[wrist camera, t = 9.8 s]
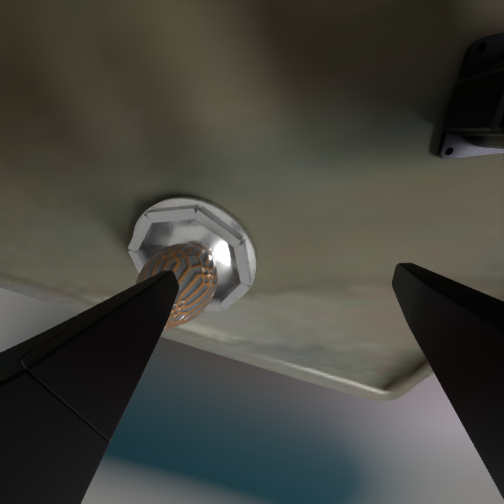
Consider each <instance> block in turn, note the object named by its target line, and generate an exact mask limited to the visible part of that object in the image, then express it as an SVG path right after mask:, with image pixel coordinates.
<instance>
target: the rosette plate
mask: <svg viewBox="0 0 504 504" xmlns="http://www.w3.org/2000/svg"><path fill="white" fill-rule="evenodd" d="M180 243H187V244H192V245H196V246H198V247H200V248H202V249H204V250H205V251H206V252H207V253H208V254H209V255H210V256H211V257H212V259H213V260H214V262H215V264H216V267H217V272H218V282H217V287H216V291H215V293H214V296H213V298H212V300H211V302H210V303H209V305H208V306H207V307H206V308H205V310H204V311H223V309H225V310H226V309H227V308H228V307H229V306H230V305H231V304H232V303H233V302H235V301H236V300H238V299H240V298H241V297H242V296H243V295H244V294H245V293H246V292H247V291H248V290H249V288H250V286H251V285H252V282H253V280H254V276H255V272H256V267H257V254H256V250H255V246H254V243H253V241H252V238H251V236H250V235H249V233H248V231H247V230H246V228H245V227H244V226H243V224H242V223H241V222H240V221H239V220H238V219H237V218H236V217H235V216H234V215H233V214H231V213H230V212H229V211H227V210H226V209H224V208H223V207H221V206H219V205H217V204H215V203H213V202H211V201H208V200H205V199H201V198H197V197H189V196H178V197H172V198H168V199H165V200H163V201H161V202H159V203H157V204H155V205H153V206H151V207H150V208H149V209H147V210H146V211H145V212H144V213H143V214H142V215H141V216H140V218H139V219H138V221H137V223H136V225H135V228H134V232H133V238H132V240H131V242H130V244H129V246H128V249H130V250H129V251H128V252H129V254H130V256H131V258H132V260H133V262H134V264H135V266H136V268H137V270H138V272H139V274H140V272H141V270H142V268H143V266H144V265H145V264H146V262H147V261H148V260H149V259H150V258H151V257H152V256H153V255H154V254H156V253H157V252H158V251H160V250H161V249H163V248H166V247H168V246H171V245H174V244H180Z"/></svg>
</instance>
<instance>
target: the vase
mask: <svg viewBox="0 0 504 504" xmlns="http://www.w3.org/2000/svg"><path fill="white" fill-rule="evenodd" d="M164 270H172V271H173V272H174V273H175V276H176V278H177V281H178V283H179V291H178V294H177V297H176V299H175V302H174V305H173V308H172V311H171V313H170V316H169V319H168V321H167V323H166V325H165V328H164V330H163V332H162V334H164V333H165V332H166V331H168V330H169V329H171V328H173V327H176V326H179V325H181V324H184V323H187V322H189V321H191V320H193V319H194V318H196V317H197V316H198V315H199V314H201V313H202V312H203V311H204V310H205V308H206V307H207V306H208V305H209V303H210V302H211V300H212V298H213V296H214V293H215V291H216V287H217V282H218V272H217V267H216V264H215V262H214V260H213V259H212V257H211V256H210V255H209V254H208V253H207V252H206V251H205V250H204V249H202V248H200V247H198V246H196V245H192V244H187V243H180V244H174V245H171V246H168V247H166V248H163V249H161V250H160V251H158V252H157V253H156V254H154V255H153V256H152V257H151V258H150V259H149V260H148V261H147V262H146V264H145V265H144V266H143V268H142V270H141V272H140V274H139V276H138V279H137V282H136V284H138V283H140V282H142V281H144V280H146V279H148V278H150V277H152V276H154V275H156V274H157V273H159V272H161V271H164ZM162 334H161V335H162Z"/></svg>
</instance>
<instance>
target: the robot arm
mask: <svg viewBox="0 0 504 504" xmlns="http://www.w3.org/2000/svg"><path fill="white" fill-rule="evenodd" d="M478 45H480V47H481V50H480V52H479V54H476V48H477V46H478ZM443 129H444V132H443V135H442V139H441V142H440V146H439V149H438V157H439V158H442V159H452V158H460V157H469V156H478V155H487V154H495V153H504V33H501V34H497V35H492V36H487V37H483V38H481V39H479V40H477V41H475V42H473V43H472V44H471V45H470V46H469V48H468V49H467V51H466V54H465V58H464V61H463V65H462V68H461V72H460V75H459V79H458V82H457V83H456V84H455V86H454V89H453V93H452V97H451V100H450V104H449V107H448V111H447V114H446V118H445V122H444V125H443ZM448 148H450V151H449V153H447V154H445V151H446V150H447V149H448ZM392 287H393V289H394V292H395V294H396V297H397V299H398V302H399V304H400V307H401V309H402V312H403V314H404V317H405V319H406V321H407V324H408V326H409V328H410V329H411V331H412V333H413V335H414V337H415V339H416V340H417V342H418V344H419V346H420V348H421V350H422V351H423V353H424V355H425V357H426V359H427V361H428V362H429V364H430V366H431V368H432V370H433V371H434V373H435V375H436V377H437V379H438V381H439V382H440V384H441V386H442V388H443V390H444V392H445V393H446V395H447V397H448V399H449V400H450V402H451V404H452V406H453V408H454V410H455V412H456V413H457V415H458V417H459V419H460V421H461V423H462V424H463V426H464V428H465V430H466V432H467V433H468V435H469V437H470V439H471V441H472V443H473V444H474V446H475V448H476V450H477V452H478V453H479V455H480V457H481V459H482V461H483V463H484V464H485V466H486V468H487V470H488V472H489V473H490V475H491V477H492V479H493V481H494V482H495V484H496V486H497V488H498V490H499V492H500V494H501V495H502V497H503V499H504V302H503V301H501V300H499V299H496V298H494V297H492V296H489V295H487V294H484V293H482V292H480V291H477V290H475V289H472V288H470V287H468V286H465V285H463V284H461V283H458V282H456V281H453V280H451V279H449V278H446V277H444V276H441V275H439V274H437V273H434V272H432V271H430V270H427V269H425V268H422V267H420V266H418V265H415V264H413V263H399V264H397V266H396V268H395V272H394V276H393V280H392ZM178 291H179V283H178V281H177V278H176V276H175V273H174V272H173V271H172V270H164V271H161V272H159V273H157V274H156V275H154V276H152V277H150V278H148V279H146V280H144V281H142V282H140V283H138V284H136V285H134V286H132V287H130V288H128V289H127V290H125V291H123V292H121V293H119V294H117V295H115V296H113V297H111V298H109V299H107V300H105V301H103V302H101V303H99V304H98V305H96V306H94V307H92V308H90V309H88V310H86V311H84V312H82V313H80V314H78V315H77V316H75V317H73V318H70V319H69V320H67V321H65V322H63V323H61V324H59V325H57V326H55V327H53V328H51V329H49V330H47V331H45V332H43V333H41V334H39V335H36V336H35V337H32V338H30V339H28V340H26V341H24V342H22V343H20V344H18V345H16V346H13V347H11V348H9V349H7V350H6V351H3V352H1V353H0V504H81V502H82V500H83V498H84V495H85V494H86V491H87V489H88V487H89V485H90V483H91V481H92V479H93V477H94V475H95V473H96V470H97V468H98V466H99V464H100V462H101V460H102V458H103V455H104V453H105V451H106V449H107V447H108V445H109V441H110V440H111V439H112V436H113V434H114V432H115V430H116V428H117V426H118V424H119V422H120V420H121V418H122V415H123V413H124V411H125V409H126V407H127V405H128V403H129V401H130V399H131V396H132V395H133V393H134V390H135V388H136V386H137V384H138V382H139V380H140V378H141V376H142V373H143V372H144V369H145V367H146V365H147V363H148V361H149V359H150V357H151V354H152V353H153V351H154V348H155V346H156V344H157V342H158V340H159V338H160V336H161V334H162V332H163V330H164V328H165V325H166V323H167V321H168V319H169V316H170V313H171V311H172V308H173V305H174V302H175V299H176V297H177V294H178Z"/></svg>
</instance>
